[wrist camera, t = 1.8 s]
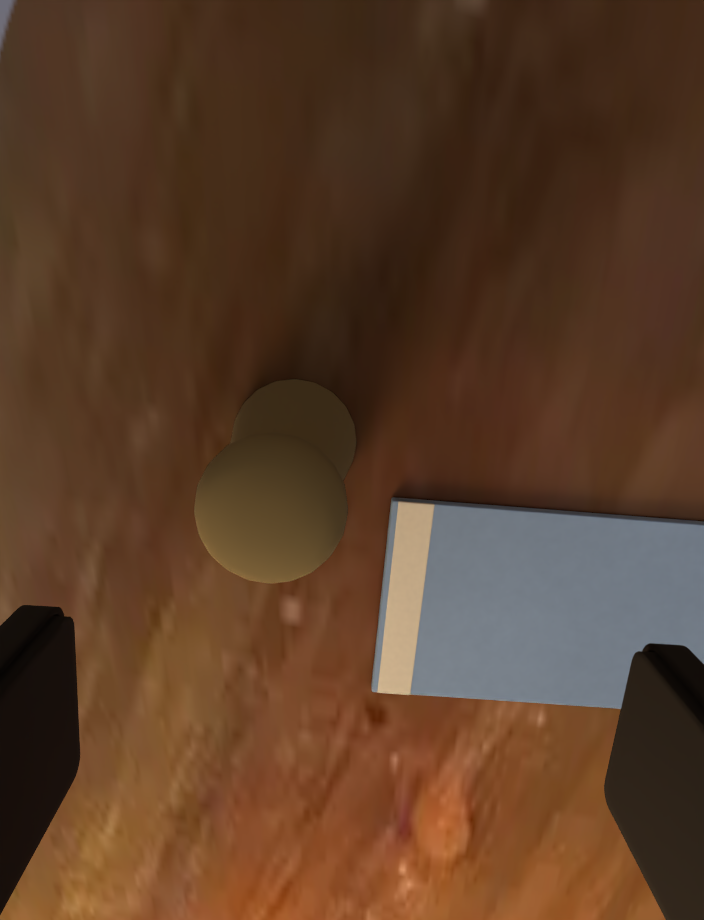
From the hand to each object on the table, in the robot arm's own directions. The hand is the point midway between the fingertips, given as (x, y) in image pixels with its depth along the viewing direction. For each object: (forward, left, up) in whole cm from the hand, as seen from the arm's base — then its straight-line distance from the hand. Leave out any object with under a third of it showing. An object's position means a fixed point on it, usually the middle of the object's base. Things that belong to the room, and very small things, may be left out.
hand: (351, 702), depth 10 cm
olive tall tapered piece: (+1, -3, -21) cm, 21 cm away
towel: (+9, +12, -21) cm, 26 cm away
